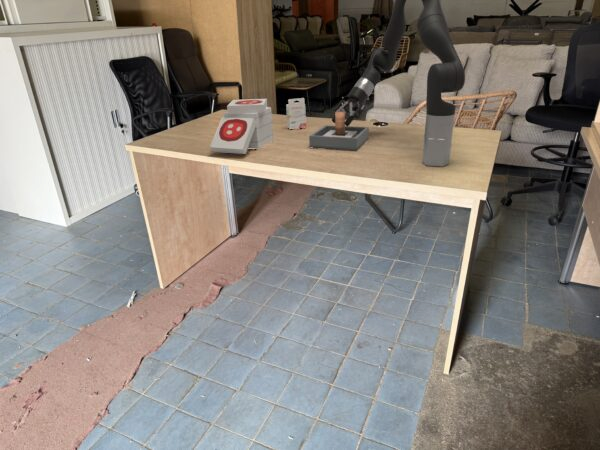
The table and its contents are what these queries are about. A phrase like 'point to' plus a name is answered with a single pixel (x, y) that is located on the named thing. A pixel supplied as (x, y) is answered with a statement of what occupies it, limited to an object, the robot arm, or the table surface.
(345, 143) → the open box
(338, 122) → the peg
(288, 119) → the ink cartridge box
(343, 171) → the table surface
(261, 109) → the stack of white boxes
